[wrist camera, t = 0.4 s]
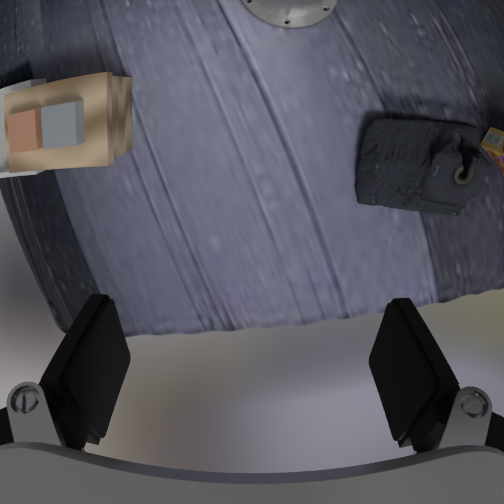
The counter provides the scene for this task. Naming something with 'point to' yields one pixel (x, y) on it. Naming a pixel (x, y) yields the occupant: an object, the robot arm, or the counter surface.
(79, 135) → the slate tile
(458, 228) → the counter surface
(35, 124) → the terracotta tile
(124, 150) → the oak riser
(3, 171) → the tray
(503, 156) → the candy box
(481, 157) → the black flat block
